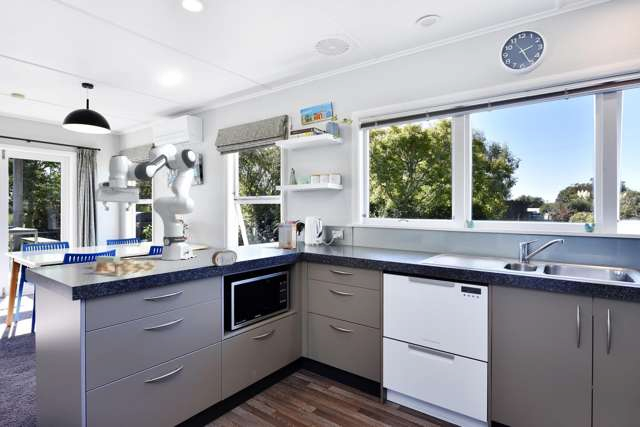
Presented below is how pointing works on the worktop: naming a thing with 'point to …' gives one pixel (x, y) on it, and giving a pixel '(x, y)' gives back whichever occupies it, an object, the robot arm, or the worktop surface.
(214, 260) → the tin
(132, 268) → the track
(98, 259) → the slider
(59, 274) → the worktop surface
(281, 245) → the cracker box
